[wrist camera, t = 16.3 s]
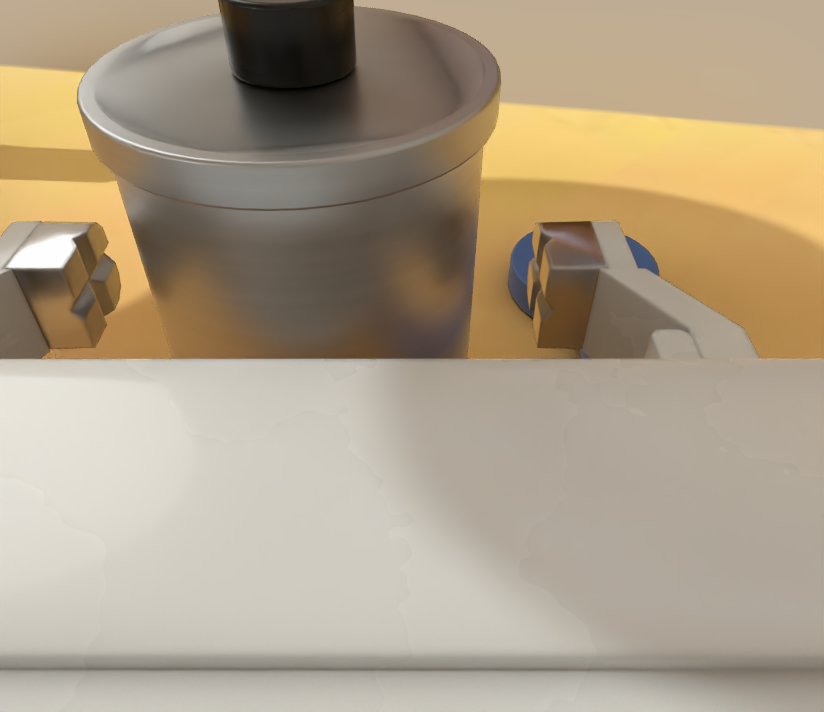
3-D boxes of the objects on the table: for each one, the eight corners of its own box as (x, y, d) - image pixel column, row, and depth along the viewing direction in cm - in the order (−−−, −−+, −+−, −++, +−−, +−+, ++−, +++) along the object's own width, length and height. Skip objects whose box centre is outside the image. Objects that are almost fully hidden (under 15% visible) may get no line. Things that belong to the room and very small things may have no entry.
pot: (166, 555, 15) (-45, 66, 8) (228, 347, 20) (129, -68, 13) (478, 555, 15) (536, 67, 8) (462, 348, 20) (490, -67, 13)
